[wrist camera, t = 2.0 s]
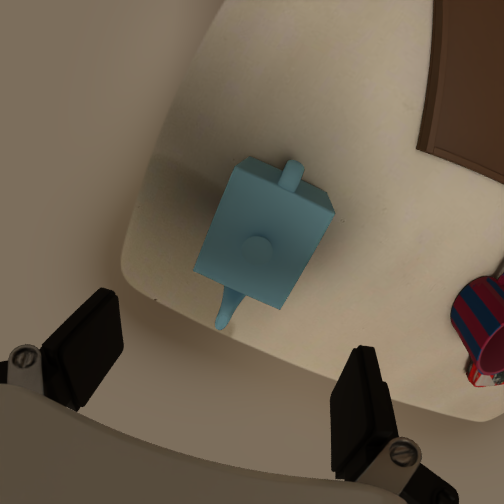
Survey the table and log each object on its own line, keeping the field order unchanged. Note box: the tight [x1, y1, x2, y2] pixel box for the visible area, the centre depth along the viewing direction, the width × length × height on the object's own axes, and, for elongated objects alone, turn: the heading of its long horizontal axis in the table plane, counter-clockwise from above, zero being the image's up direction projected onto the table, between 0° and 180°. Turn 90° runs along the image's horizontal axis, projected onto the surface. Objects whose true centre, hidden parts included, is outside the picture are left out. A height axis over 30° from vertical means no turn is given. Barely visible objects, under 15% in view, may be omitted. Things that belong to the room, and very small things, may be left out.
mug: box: [451, 272, 504, 376], centre depth 20 cm, size 7×10×7 cm
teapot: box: [193, 156, 335, 330], centre depth 21 cm, size 12×6×8 cm, turn 157°
